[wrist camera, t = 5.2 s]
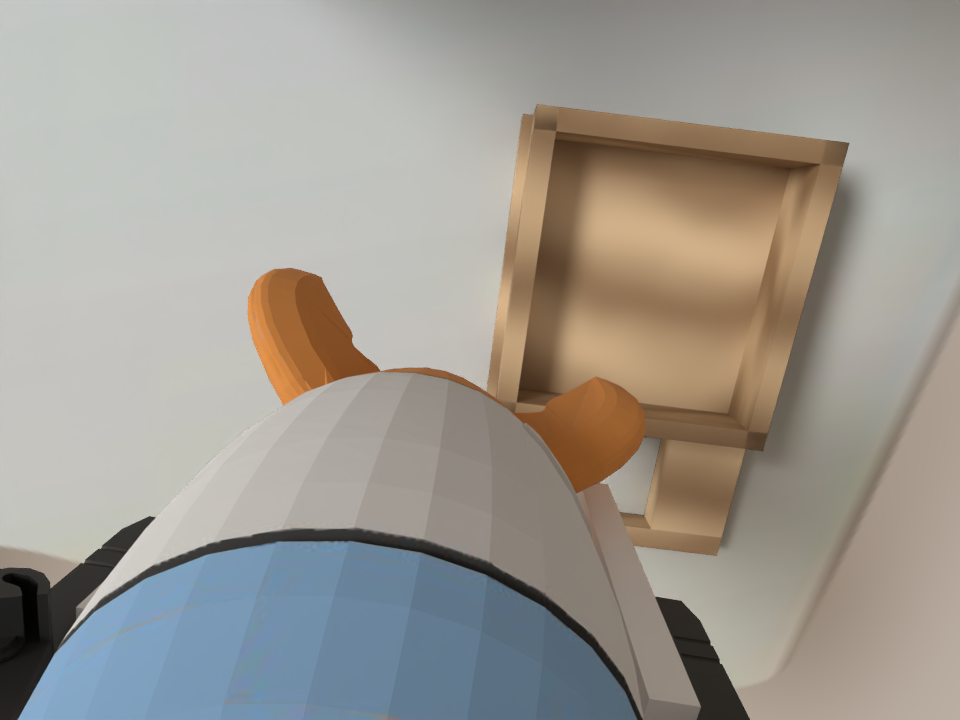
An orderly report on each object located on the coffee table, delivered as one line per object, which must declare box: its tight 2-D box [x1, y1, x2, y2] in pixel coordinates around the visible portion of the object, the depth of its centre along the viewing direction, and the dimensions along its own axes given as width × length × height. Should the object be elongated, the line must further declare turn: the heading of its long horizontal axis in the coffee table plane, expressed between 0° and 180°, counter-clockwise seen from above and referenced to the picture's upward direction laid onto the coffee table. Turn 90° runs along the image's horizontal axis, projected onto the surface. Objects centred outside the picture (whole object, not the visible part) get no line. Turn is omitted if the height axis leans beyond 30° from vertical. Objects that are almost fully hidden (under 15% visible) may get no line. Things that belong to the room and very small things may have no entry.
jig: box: [487, 104, 849, 556], centre depth 28 cm, size 23×15×4 cm, turn 173°
